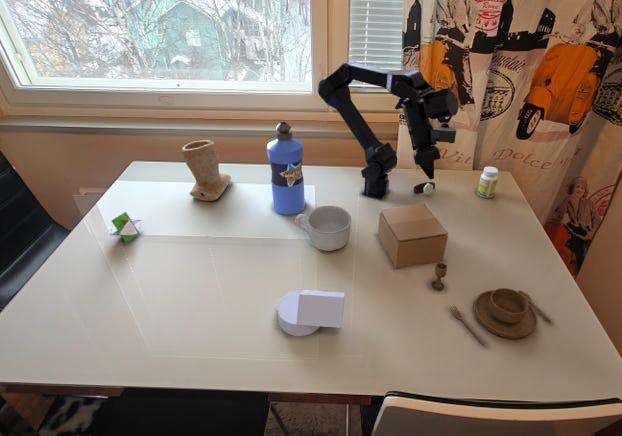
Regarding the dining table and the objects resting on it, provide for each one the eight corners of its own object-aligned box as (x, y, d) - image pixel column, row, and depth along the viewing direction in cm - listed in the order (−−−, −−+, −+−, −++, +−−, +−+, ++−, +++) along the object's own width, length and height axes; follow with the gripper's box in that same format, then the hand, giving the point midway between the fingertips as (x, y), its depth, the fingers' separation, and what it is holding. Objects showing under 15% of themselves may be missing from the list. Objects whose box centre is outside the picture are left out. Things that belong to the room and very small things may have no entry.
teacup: (356, 237, 100) (358, 211, 96) (339, 262, 92) (339, 235, 88) (309, 224, 105) (308, 198, 100) (289, 246, 97) (286, 220, 92)
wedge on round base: (344, 304, 81) (283, 299, 82) (345, 280, 77) (281, 276, 78) (341, 339, 74) (274, 334, 75) (341, 315, 70) (271, 310, 71)
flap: (380, 210, 96) (380, 209, 96) (424, 204, 98) (424, 203, 98) (388, 225, 91) (388, 224, 91) (435, 219, 94) (435, 217, 93)
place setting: (489, 355, 71) (496, 334, 68) (426, 284, 86) (430, 264, 83) (558, 325, 77) (568, 304, 73) (488, 263, 92) (494, 244, 88)
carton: (377, 235, 101) (380, 209, 96) (420, 229, 103) (424, 203, 98) (395, 268, 90) (398, 240, 86) (442, 260, 93) (448, 233, 88)
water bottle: (311, 208, 111) (308, 125, 97) (282, 218, 107) (274, 133, 93) (295, 194, 118) (290, 114, 103) (267, 203, 113) (258, 121, 99)
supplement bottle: (491, 190, 120) (497, 166, 115) (494, 198, 116) (501, 173, 111) (475, 189, 120) (481, 165, 116) (478, 197, 117) (484, 172, 112)
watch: (419, 198, 116) (421, 188, 114) (409, 191, 119) (410, 181, 117) (438, 191, 119) (440, 181, 117) (427, 185, 123) (429, 175, 121)
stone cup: (200, 177, 126) (190, 133, 118) (235, 179, 125) (228, 135, 117) (179, 201, 114) (167, 155, 106) (218, 204, 113) (209, 157, 104)
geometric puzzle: (100, 232, 98) (105, 216, 92) (123, 218, 103) (129, 202, 97) (122, 252, 98) (128, 237, 93) (143, 237, 103) (150, 222, 98)
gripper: (455, 118, 88) (468, 181, 93) (446, 108, 105) (457, 162, 110) (407, 132, 91) (422, 193, 96) (405, 120, 108) (418, 172, 113)
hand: (432, 178), depth 104 cm, fingers closed
